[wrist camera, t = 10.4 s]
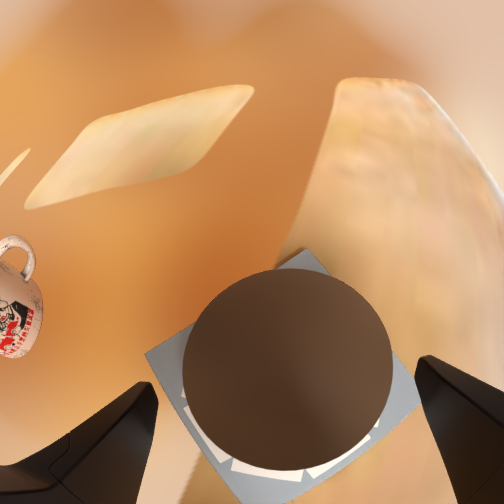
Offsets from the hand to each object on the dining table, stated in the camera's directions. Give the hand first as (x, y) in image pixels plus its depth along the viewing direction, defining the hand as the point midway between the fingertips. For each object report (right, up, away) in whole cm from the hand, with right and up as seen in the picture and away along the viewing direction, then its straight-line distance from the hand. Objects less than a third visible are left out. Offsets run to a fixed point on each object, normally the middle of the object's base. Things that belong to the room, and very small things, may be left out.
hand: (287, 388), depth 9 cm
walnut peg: (+1, -4, +9) cm, 10 cm away
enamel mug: (-24, -1, +14) cm, 28 cm away
